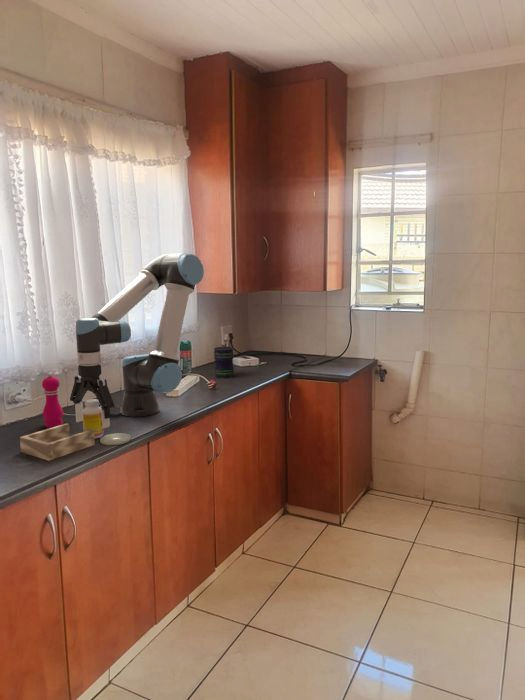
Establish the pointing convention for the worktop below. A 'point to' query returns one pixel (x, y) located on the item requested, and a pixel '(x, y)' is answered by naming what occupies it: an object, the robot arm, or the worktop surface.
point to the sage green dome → (115, 439)
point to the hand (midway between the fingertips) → (92, 424)
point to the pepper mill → (52, 402)
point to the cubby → (55, 442)
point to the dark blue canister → (223, 362)
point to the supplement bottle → (92, 418)
